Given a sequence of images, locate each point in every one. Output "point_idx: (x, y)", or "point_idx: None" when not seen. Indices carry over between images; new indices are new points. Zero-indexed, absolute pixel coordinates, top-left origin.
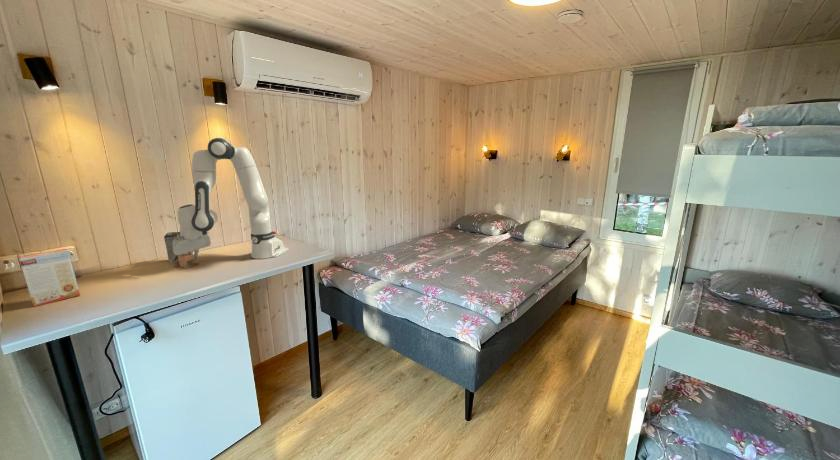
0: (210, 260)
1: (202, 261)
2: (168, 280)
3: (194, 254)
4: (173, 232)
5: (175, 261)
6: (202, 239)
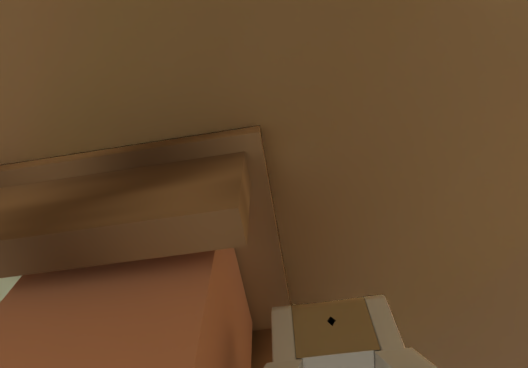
0: (503, 297)
1: (432, 242)
2: None
3: (374, 363)
4: None
5: None
6: None
